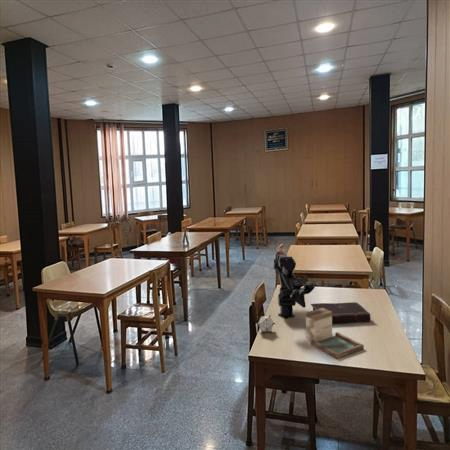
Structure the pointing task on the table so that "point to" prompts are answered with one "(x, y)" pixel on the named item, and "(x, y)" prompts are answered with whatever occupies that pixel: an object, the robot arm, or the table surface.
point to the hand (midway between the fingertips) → (304, 307)
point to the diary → (345, 312)
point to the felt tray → (338, 345)
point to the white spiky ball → (265, 323)
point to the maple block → (319, 324)
